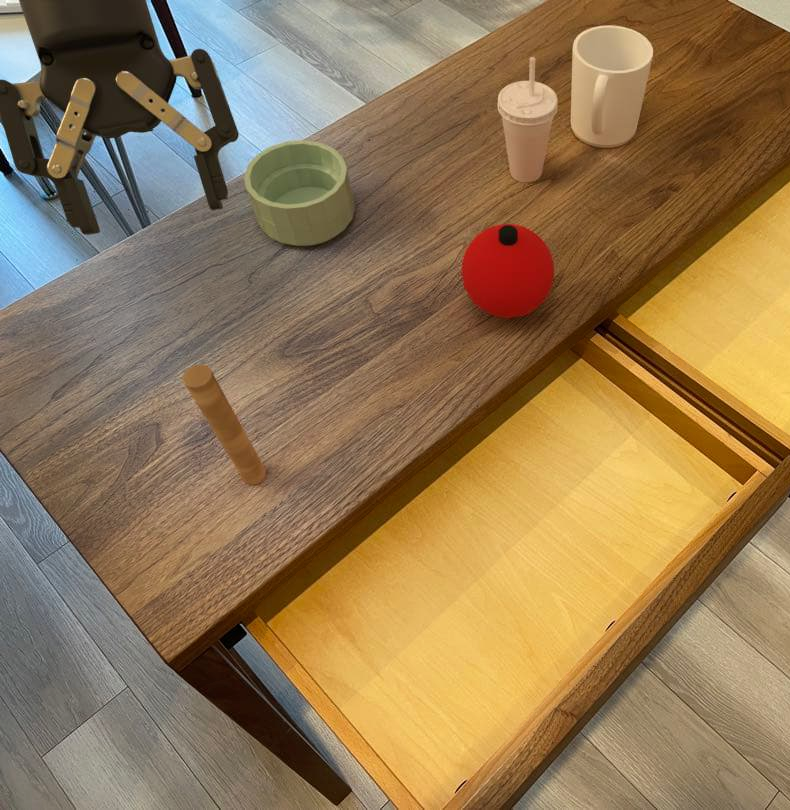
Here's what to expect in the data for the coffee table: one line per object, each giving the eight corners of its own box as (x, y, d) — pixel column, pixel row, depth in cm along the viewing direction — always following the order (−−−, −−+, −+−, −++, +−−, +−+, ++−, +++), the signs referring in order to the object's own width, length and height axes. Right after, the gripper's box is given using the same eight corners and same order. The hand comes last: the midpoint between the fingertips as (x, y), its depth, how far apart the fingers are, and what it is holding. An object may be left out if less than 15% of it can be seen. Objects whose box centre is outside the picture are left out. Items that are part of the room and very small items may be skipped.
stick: (244, 487, 67) (183, 390, 54) (241, 468, 68) (180, 368, 55) (267, 481, 67) (213, 383, 55) (264, 461, 68) (210, 361, 56)
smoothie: (565, 171, 90) (573, 61, 78) (526, 198, 88) (530, 89, 76) (524, 145, 92) (527, 34, 81) (486, 171, 90) (483, 60, 78)
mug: (576, 97, 98) (583, 19, 89) (646, 112, 97) (660, 34, 88) (553, 153, 92) (558, 75, 83) (627, 169, 91) (640, 91, 82)
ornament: (566, 287, 81) (573, 215, 72) (527, 349, 76) (530, 280, 68) (489, 257, 83) (487, 183, 74) (447, 316, 78) (440, 244, 70)
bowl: (267, 260, 81) (252, 217, 76) (253, 194, 86) (237, 150, 81) (364, 239, 83) (355, 196, 78) (345, 176, 89) (335, 132, 83)
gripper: (-70, -29, 47) (28, 241, 51) (177, -61, 50) (252, 197, 54) (-18, 9, 54) (65, 243, 58) (196, -21, 57) (261, 204, 61)
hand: (155, 221), depth 56 cm, fingers open, 8 cm apart
